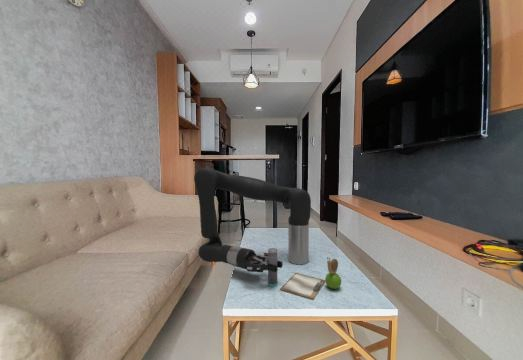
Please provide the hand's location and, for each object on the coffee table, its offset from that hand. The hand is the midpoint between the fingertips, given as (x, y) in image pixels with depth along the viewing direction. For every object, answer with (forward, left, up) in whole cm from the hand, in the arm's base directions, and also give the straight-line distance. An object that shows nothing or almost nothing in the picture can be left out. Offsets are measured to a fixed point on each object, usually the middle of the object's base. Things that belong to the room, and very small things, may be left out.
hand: (279, 266), depth 81 cm
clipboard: (-5, +7, -7) cm, 11 cm away
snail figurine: (-8, +17, -7) cm, 20 cm away
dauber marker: (0, -3, -7) cm, 8 cm away
